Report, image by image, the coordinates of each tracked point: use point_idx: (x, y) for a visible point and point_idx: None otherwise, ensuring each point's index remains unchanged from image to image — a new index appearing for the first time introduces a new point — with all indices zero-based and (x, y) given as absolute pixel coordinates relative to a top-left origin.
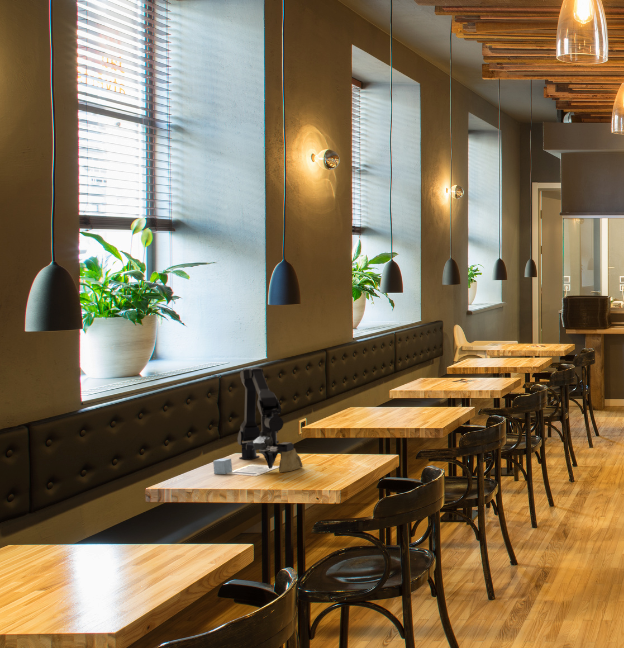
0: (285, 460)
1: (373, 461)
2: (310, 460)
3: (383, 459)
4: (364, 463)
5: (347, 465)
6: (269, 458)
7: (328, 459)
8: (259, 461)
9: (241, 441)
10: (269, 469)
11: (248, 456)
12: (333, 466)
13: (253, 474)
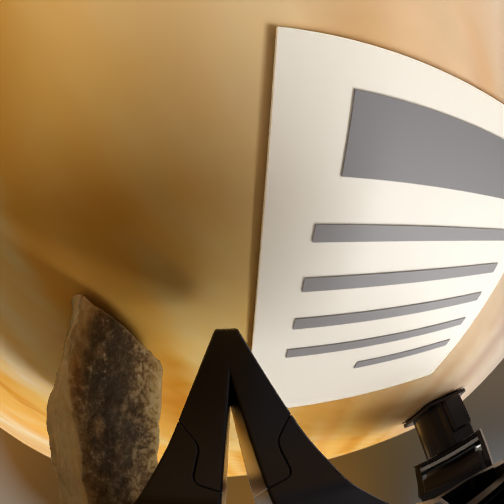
0: (56, 427)
1: (29, 440)
2: None
3: (36, 447)
4: (20, 431)
5: (22, 422)
6: (213, 452)
7: None
8: (398, 408)
9: (481, 441)
10: (279, 350)
11: (441, 408)
12: (35, 418)
13: (357, 88)
